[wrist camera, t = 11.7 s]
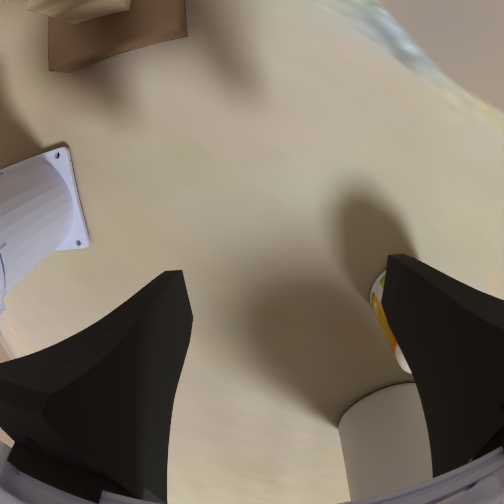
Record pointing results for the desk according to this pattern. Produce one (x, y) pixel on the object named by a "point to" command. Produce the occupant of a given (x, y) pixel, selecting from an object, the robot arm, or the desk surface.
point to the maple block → (77, 8)
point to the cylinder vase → (386, 442)
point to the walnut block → (114, 33)
